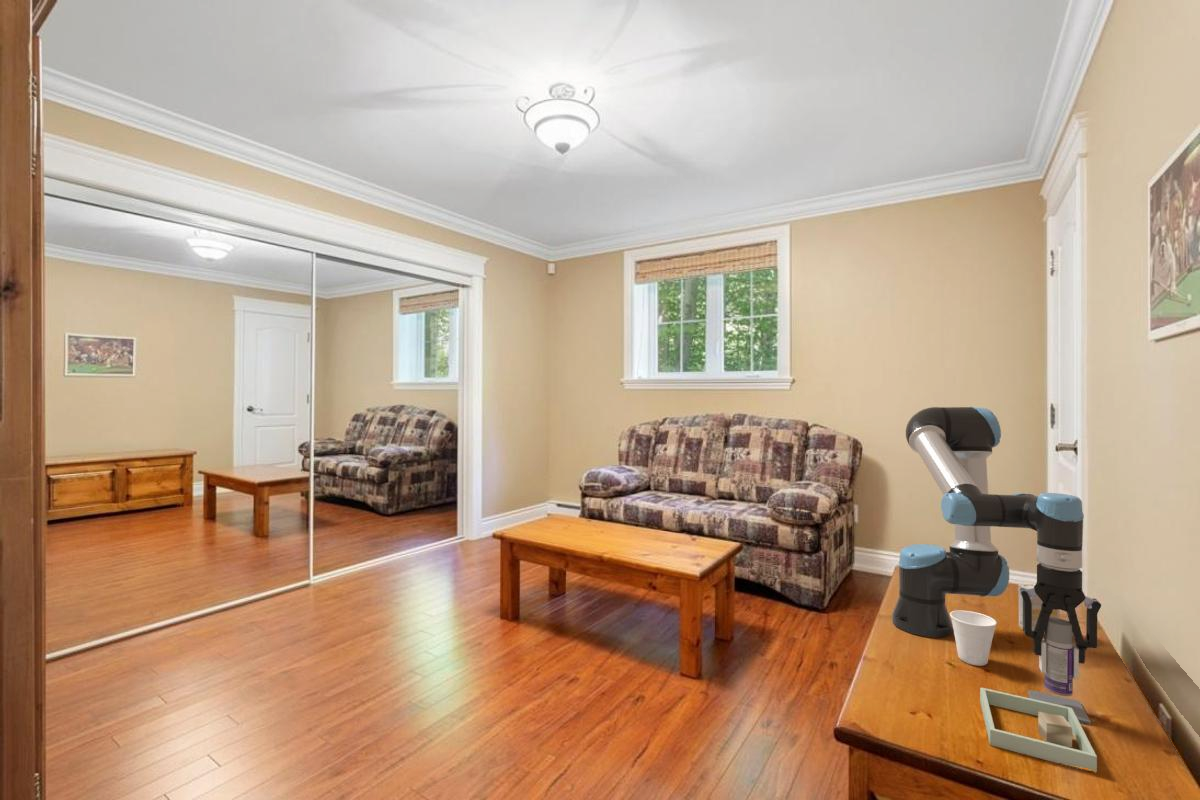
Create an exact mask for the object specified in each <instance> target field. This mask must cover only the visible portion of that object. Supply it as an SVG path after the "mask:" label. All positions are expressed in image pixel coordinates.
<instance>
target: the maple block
mask: <svg viewBox="0 0 1200 800" xmlns="http://www.w3.org/2000/svg"><path fill="white" fill-rule="evenodd" d="M1037 719H1038V720H1037V722H1038V724H1037V725H1038V726H1037V730H1038V732H1039V734H1040V736H1041V737H1042V738H1043V741H1045V742H1049V743H1053V744H1057V745H1061V746H1065V747H1069V748H1071V747H1072V748H1073V733H1072V727H1071V725H1070V724H1069V723H1068V722H1067V720H1066V719H1065V718H1064V717H1063V716H1061V715H1055V714H1049V713H1043V712H1038V716H1037Z"/></svg>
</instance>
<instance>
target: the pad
mask: <svg viewBox="0 0 1200 800" xmlns="http://www.w3.org/2000/svg"><path fill="white" fill-rule="evenodd" d="M1027 694H1028V696H1029V697H1028V698H1030V699H1035V700H1039V701H1044V702H1048V703H1052V704H1057V705H1061V706H1066V707H1070V708H1072V709H1073V711H1074V713H1075V715H1076V717H1077V719H1078V721H1079V723H1080V724H1084V723H1085V725H1088V724H1090V725H1089V726H1092V722H1091V719H1090V718H1089V716H1088V714H1087V712H1086V710H1085V708H1084V707H1083V705H1082V703H1081V701H1080V700H1078V699H1077V700H1076V699H1073V698H1068V697H1065V696H1060V695H1056V694H1049V693H1044V692H1040V691H1035V690H1030V689H1027Z"/></svg>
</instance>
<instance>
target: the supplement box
mask: <svg viewBox="0 0 1200 800" xmlns="http://www.w3.org/2000/svg"><path fill="white" fill-rule="evenodd" d="M1035 585H1036V584H1034V583H1033V584H1030V583H1029V584H1027V583H1025V584H1024V583H1018V629H1020V630H1022V631H1023V598H1022V595H1021V593H1020V589H1021V588H1023V589H1025V590H1026V589H1033V588H1034V586H1035ZM1031 603H1032V631H1034V629H1035V626H1036V623H1037V620H1038V617H1039V614H1040V611H1041V606H1042V603H1043V602H1042V600H1041V599H1040V598H1039V597H1038V595H1037V594H1035V595H1034V599H1033V600H1031ZM1050 617H1053V618H1060V610H1054V609H1053V611H1052V613H1051V615H1050ZM1044 636H1045V633H1044Z"/></svg>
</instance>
